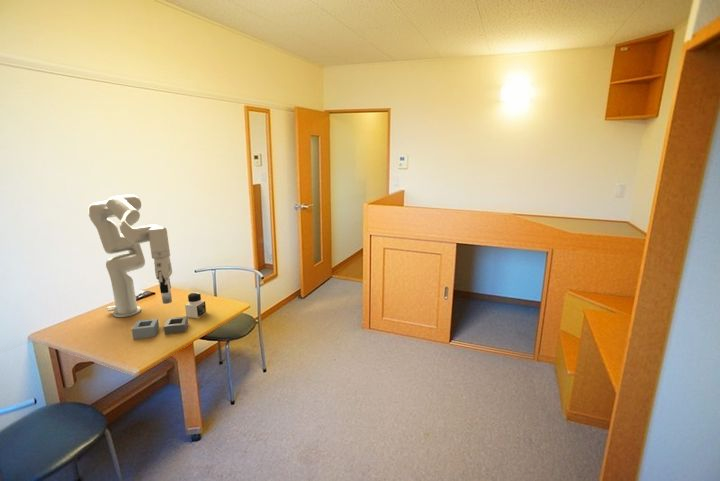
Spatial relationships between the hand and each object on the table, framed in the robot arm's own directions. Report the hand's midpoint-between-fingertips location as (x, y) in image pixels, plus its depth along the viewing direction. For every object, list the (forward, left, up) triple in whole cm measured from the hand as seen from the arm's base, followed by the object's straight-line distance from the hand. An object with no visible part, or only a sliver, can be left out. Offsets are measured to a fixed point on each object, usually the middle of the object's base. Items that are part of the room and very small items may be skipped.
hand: (165, 290), depth 172 cm
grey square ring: (+2, 0, -20) cm, 21 cm away
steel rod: (0, 0, -6) cm, 6 cm away
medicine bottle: (+9, +14, -21) cm, 27 cm away
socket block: (-11, -1, -20) cm, 23 cm away
